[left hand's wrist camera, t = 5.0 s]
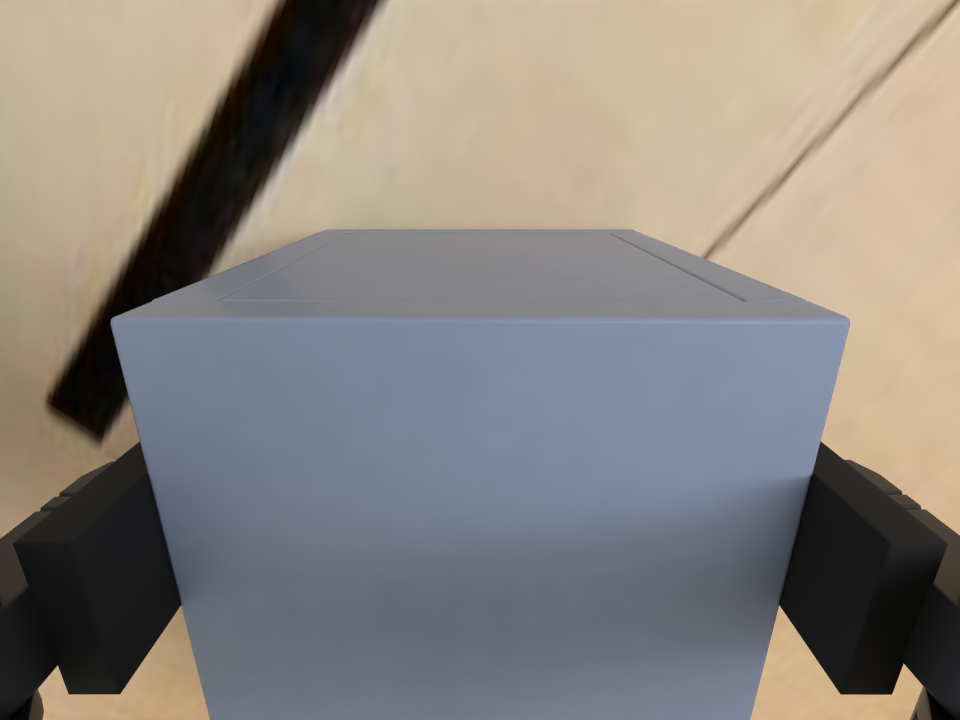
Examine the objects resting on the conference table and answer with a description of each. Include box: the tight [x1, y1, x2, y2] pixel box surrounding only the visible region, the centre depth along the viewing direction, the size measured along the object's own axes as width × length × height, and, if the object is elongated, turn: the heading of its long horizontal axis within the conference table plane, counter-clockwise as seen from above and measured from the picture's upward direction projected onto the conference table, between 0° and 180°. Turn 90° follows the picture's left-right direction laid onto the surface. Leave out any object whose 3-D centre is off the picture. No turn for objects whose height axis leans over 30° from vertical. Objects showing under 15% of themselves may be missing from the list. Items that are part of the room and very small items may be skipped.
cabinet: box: [111, 230, 850, 720], centre depth 16 cm, size 17×11×11 cm, turn 0°
